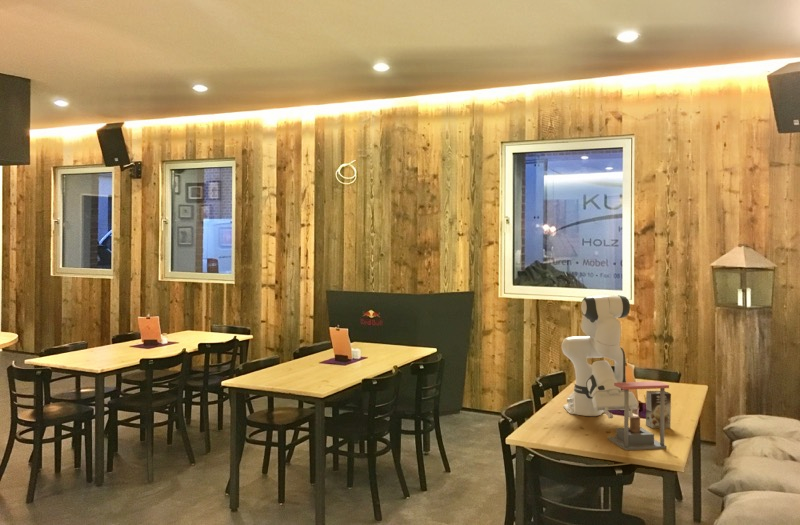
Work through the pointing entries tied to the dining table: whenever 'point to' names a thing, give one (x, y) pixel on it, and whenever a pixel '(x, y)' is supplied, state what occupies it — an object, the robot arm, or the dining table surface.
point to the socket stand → (644, 437)
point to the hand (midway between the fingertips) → (621, 417)
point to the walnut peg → (634, 424)
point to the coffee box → (657, 409)
